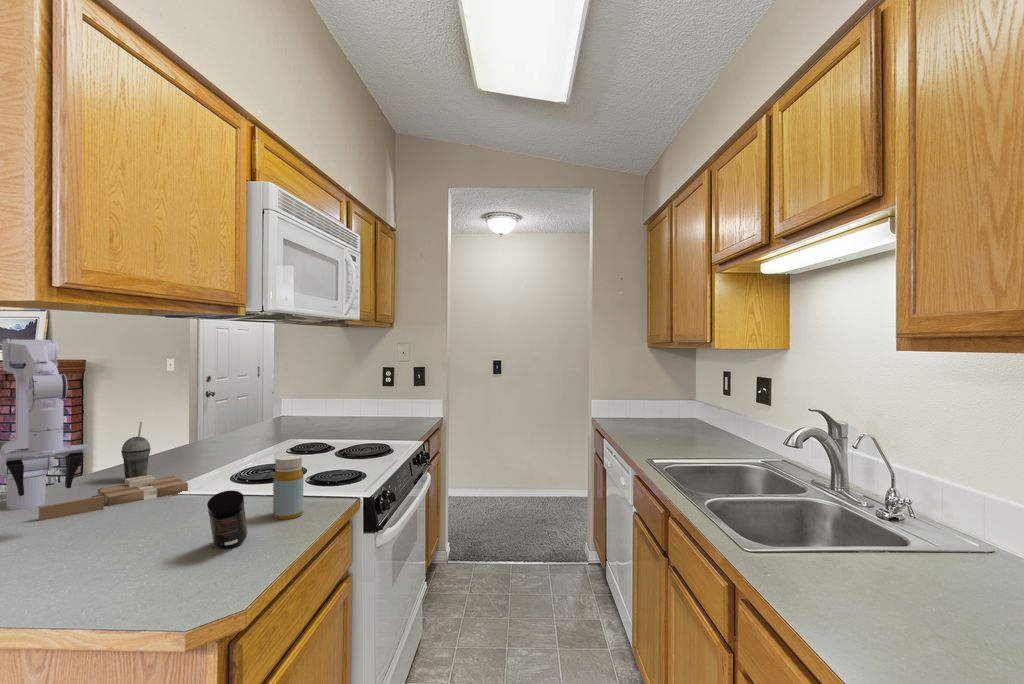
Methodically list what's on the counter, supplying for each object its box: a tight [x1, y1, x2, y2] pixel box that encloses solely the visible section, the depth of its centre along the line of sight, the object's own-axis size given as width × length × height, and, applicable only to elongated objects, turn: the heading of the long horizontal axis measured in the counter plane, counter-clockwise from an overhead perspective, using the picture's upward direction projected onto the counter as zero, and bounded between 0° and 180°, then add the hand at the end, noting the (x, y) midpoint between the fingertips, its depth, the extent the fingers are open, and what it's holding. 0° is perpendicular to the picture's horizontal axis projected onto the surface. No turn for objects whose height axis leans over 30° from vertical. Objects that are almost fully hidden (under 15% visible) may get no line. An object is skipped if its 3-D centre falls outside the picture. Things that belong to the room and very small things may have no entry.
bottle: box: [272, 454, 304, 520], centre depth 129 cm, size 7×7×15 cm
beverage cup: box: [121, 421, 152, 480], centre depth 154 cm, size 7×7×20 cm
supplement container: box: [207, 490, 248, 550], centre depth 108 cm, size 7×7×10 cm
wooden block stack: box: [97, 474, 189, 507], centre depth 141 cm, size 14×18×6 cm
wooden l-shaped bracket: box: [38, 495, 105, 522], centre depth 127 cm, size 9×12×5 cm
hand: (45, 491), depth 111 cm, fingers open, 7 cm apart
